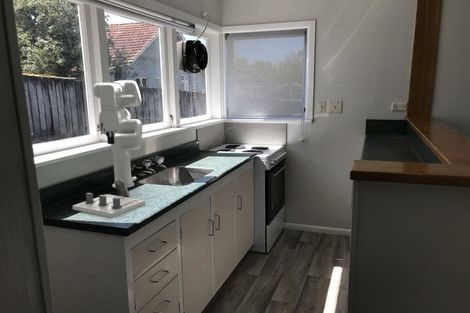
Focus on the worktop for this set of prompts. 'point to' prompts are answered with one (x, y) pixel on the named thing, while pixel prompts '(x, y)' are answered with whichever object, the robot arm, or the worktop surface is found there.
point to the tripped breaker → (116, 203)
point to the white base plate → (109, 206)
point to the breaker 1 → (89, 198)
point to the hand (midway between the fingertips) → (111, 143)
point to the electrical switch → (121, 188)
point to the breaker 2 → (102, 200)
